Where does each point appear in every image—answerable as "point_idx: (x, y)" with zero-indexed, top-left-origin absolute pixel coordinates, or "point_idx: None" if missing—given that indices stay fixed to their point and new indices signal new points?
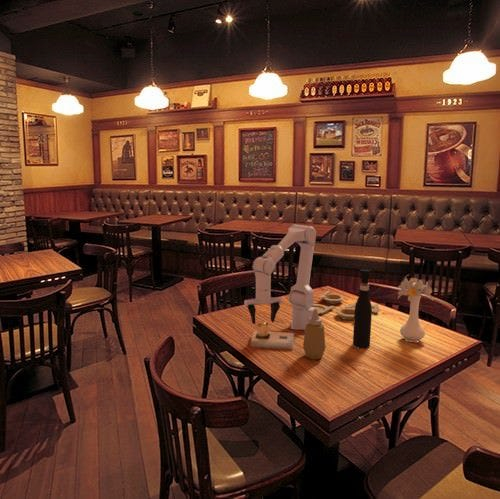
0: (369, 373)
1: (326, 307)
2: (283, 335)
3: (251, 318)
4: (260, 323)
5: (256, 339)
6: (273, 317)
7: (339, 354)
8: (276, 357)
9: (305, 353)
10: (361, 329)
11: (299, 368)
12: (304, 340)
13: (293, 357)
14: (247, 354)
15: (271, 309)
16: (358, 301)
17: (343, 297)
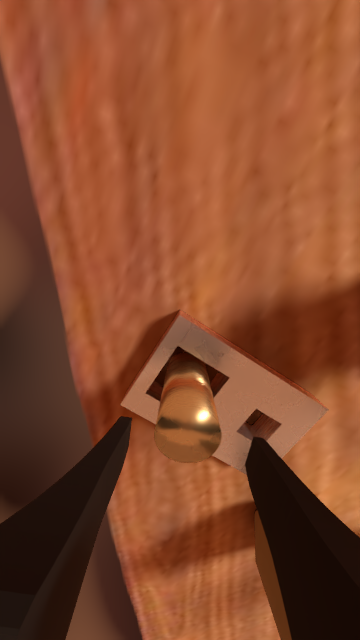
0: None
1: None
2: (271, 412)
3: (106, 434)
4: (169, 440)
5: (146, 405)
6: (261, 513)
7: (351, 528)
8: (173, 481)
9: (255, 526)
10: None
11: (198, 546)
12: (273, 593)
13: (219, 498)
14: (96, 434)
15: (307, 551)
16: None
17: None
